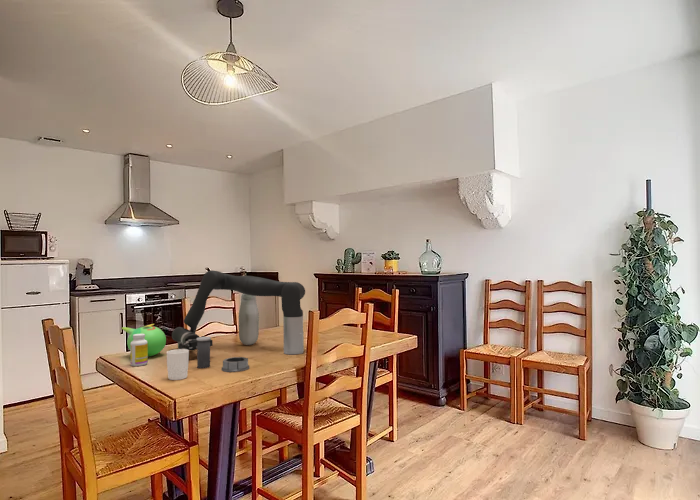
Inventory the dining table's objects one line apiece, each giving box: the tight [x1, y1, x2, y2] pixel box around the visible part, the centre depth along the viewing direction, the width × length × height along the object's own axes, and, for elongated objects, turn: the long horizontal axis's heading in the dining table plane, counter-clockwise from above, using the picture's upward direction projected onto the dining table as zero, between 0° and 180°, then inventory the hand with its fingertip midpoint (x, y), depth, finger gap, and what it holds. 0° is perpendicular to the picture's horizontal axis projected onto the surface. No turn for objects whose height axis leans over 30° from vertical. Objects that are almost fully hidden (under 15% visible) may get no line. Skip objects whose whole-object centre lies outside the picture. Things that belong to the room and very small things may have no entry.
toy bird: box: [121, 323, 167, 357], centre depth 201 cm, size 18×17×15 cm
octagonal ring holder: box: [221, 356, 250, 373], centre depth 177 cm, size 11×11×4 cm
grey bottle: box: [238, 293, 260, 346], centre depth 226 cm, size 10×10×28 cm
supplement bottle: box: [129, 334, 149, 367], centre depth 185 cm, size 7×7×13 cm
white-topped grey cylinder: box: [196, 336, 212, 369], centre depth 180 cm, size 6×6×12 cm
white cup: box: [166, 348, 190, 381], centre depth 164 cm, size 8×8×10 cm
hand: (198, 346), depth 187 cm, fingers open, 8 cm apart
